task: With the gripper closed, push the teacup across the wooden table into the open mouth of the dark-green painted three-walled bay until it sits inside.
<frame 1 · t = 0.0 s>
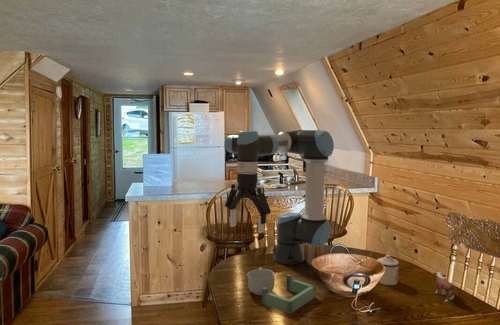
hand: (246, 229, 144), 28 cm above the table, fingers open, 13 cm apart
teacup: (261, 291, 157), on the table
bull figurine: (443, 296, 153), on the table
bay: (289, 300, 148), on the table
teacup with lid: (386, 280, 168), on the table
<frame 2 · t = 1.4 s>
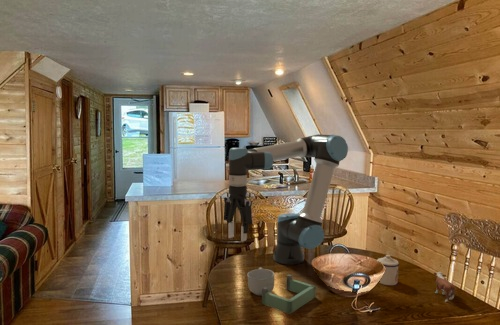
hand: (237, 238, 163), 19 cm above the table, fingers open, 6 cm apart
nothing on the table moved.
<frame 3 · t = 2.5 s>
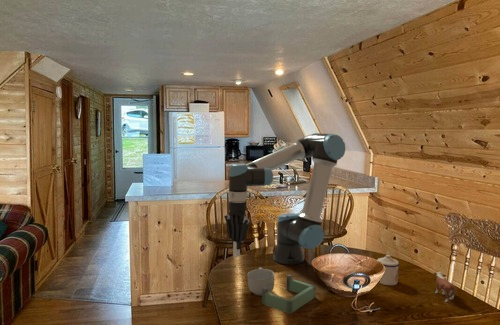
hand: (236, 255, 163), 12 cm above the table, fingers closed
nothing on the table moved.
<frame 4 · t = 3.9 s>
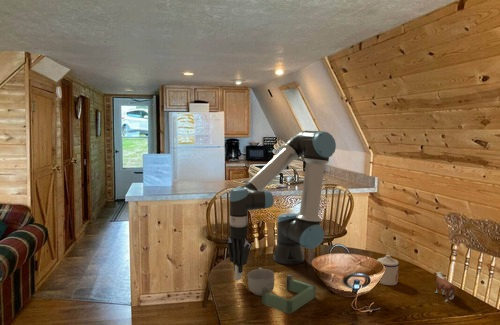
hand: (238, 279, 164), 1 cm above the table, fingers closed
nothing on the table moved.
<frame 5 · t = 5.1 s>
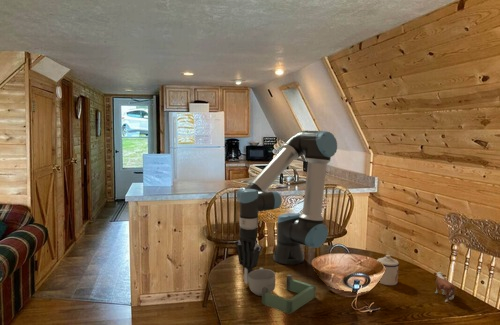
hand: (247, 282, 161), 2 cm above the table, fingers closed
teacup: (262, 291, 156), on the table, touching gripper
everything else where it was.
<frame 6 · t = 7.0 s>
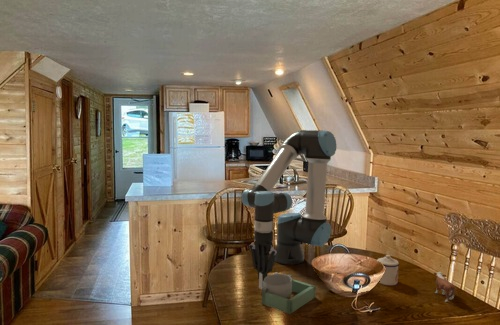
hand: (262, 287, 156), 2 cm above the table, fingers closed
teacup: (278, 297, 151), on the table, touching gripper
everything else where it was.
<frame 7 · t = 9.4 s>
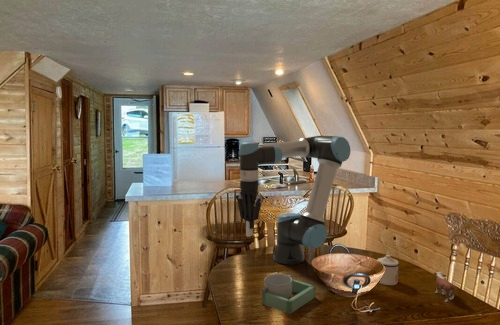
hand: (249, 235, 161), 21 cm above the table, fingers closed
teacup: (278, 297, 151), on the table
everything else where it was.
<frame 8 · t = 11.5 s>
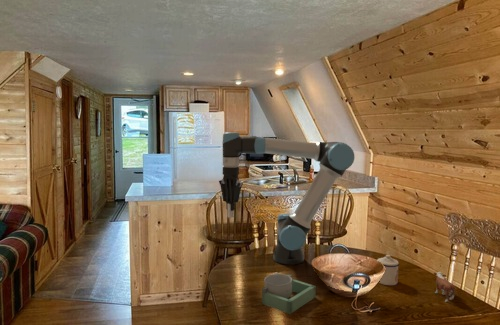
hand: (230, 217, 178), 24 cm above the table, fingers closed
nothing on the table moved.
at the end: teacup inside the target area (1.7 cm from its centre), on the table; teacup tilted 0° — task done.
